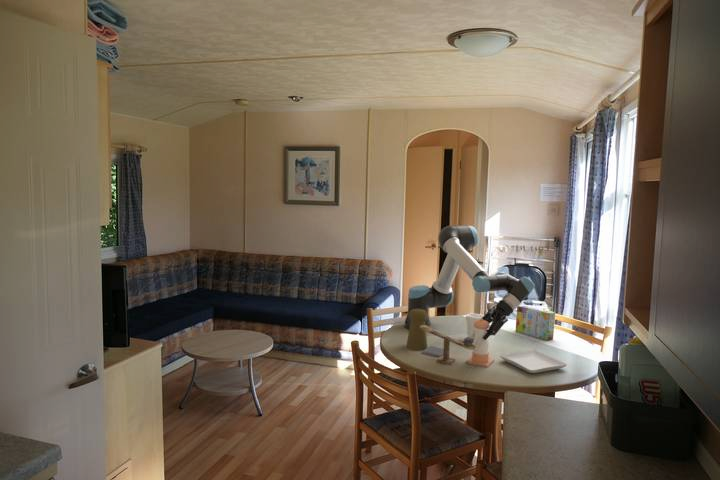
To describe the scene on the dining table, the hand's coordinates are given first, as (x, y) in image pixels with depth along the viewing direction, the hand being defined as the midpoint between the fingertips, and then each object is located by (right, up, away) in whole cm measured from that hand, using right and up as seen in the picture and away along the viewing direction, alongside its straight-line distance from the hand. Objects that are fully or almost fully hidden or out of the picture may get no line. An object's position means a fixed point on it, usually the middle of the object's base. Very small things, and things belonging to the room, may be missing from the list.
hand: (474, 341), depth 224 cm
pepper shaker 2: (+3, -9, +2) cm, 10 cm away
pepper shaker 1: (-24, -7, +21) cm, 32 cm away
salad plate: (+26, -11, -1) cm, 29 cm away
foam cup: (+8, -7, +36) cm, 38 cm away
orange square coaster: (+3, -10, +2) cm, 10 cm away
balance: (-13, -9, +1) cm, 16 cm away
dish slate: (-15, -8, +14) cm, 22 cm away
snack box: (+44, -7, +48) cm, 66 cm away
